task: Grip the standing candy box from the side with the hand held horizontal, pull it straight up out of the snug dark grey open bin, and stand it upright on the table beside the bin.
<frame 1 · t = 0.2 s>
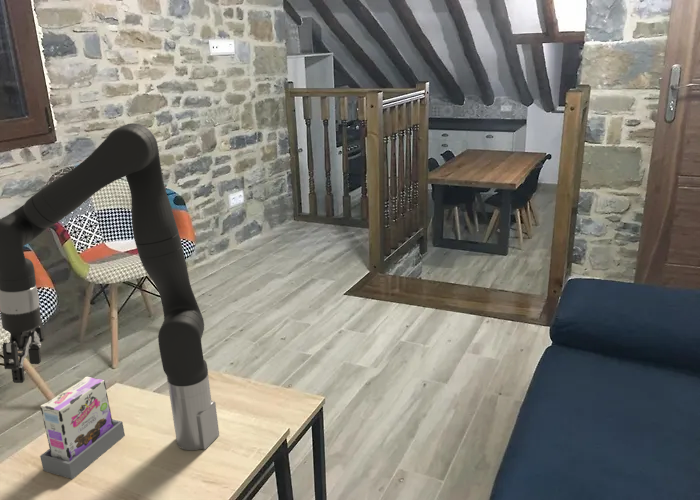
hand: (27, 372, 134), 22 cm above the table, tool pointing down, fingers open, 8 cm apart
candy box: (86, 453, 140), resting in bin
bin: (85, 452, 140), on the table
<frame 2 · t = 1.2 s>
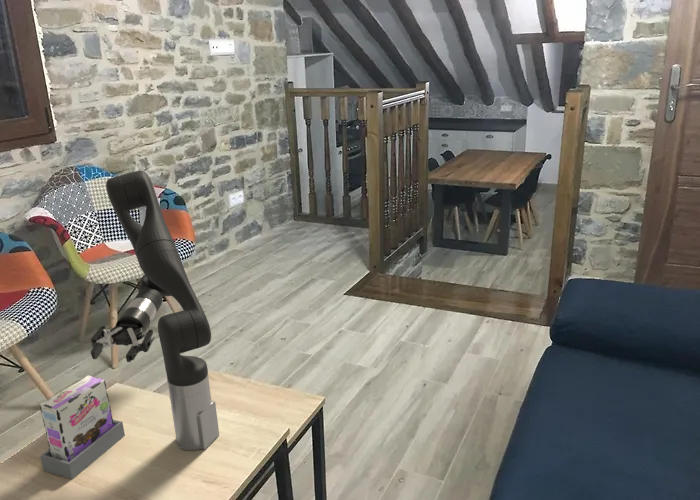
hand: (110, 358, 143), 19 cm above the table, tool horizontal, fingers open, 8 cm apart
nothing on the table moved.
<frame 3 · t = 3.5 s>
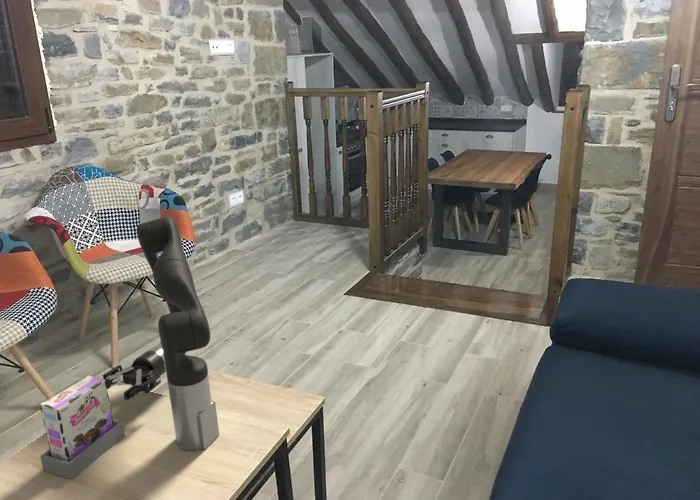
hand: (111, 393, 147), 10 cm above the table, tool horizontal, fingers open, 8 cm apart
nothing on the table moved.
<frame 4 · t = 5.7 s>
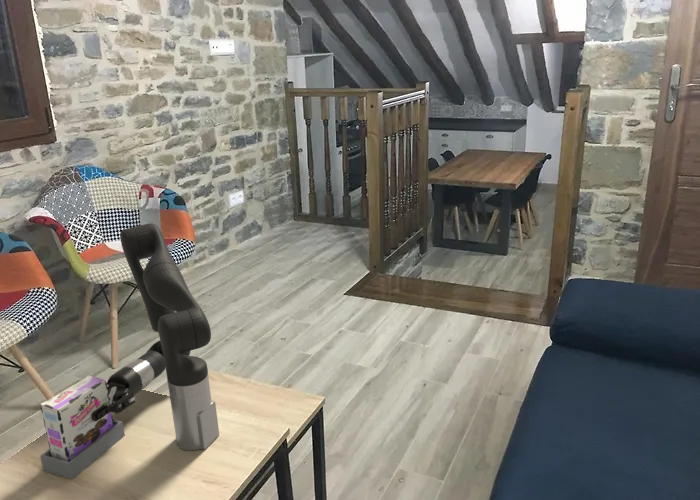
hand: (82, 415, 138), 10 cm above the table, tool horizontal, fingers closed on candy box, 6 cm apart
candy box: (86, 452, 141), resting in bin, touching gripper
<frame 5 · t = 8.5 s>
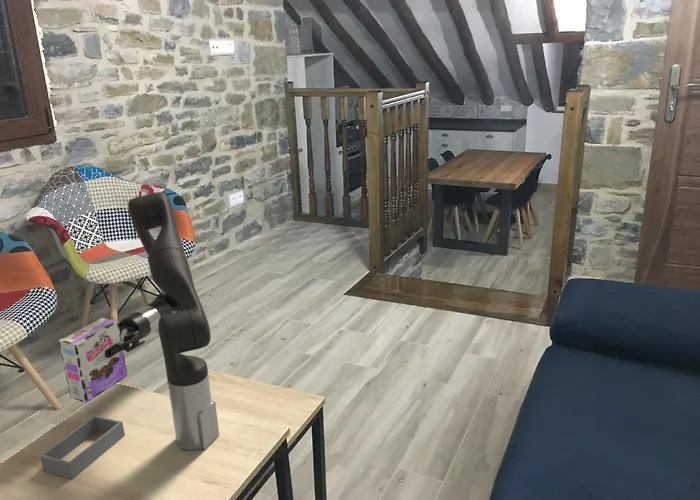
hand: (96, 352, 150), 18 cm above the table, tool horizontal, fingers closed on candy box, 6 cm apart
candy box: (100, 387, 153), point 8 cm above the table, touching gripper
when the fingers open (11 cm above the table, at t = 11.0 s): candy box drops 1 cm, on the table.
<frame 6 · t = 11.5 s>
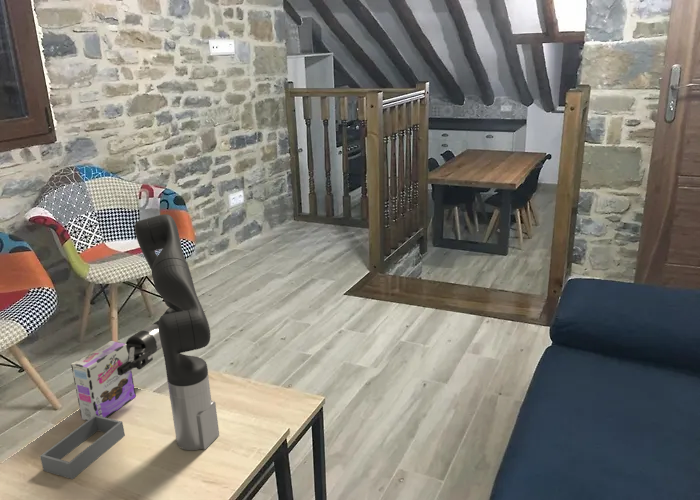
hand: (105, 369, 155), 11 cm above the table, tool horizontal, fingers open, 8 cm apart
candy box: (110, 408, 158), on the table
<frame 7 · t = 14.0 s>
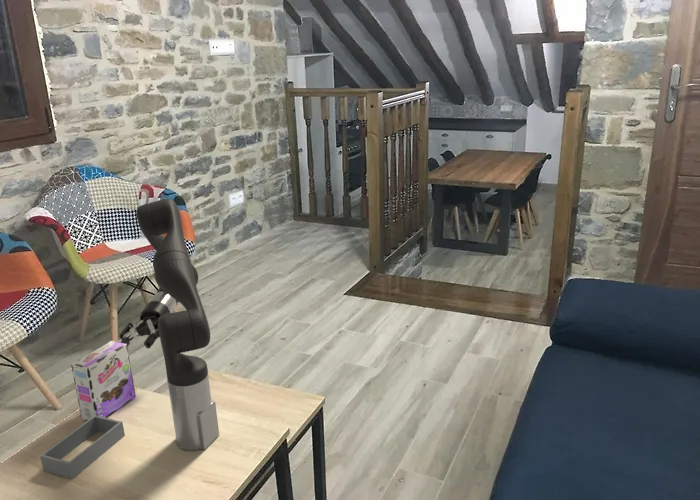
hand: (133, 347, 163), 13 cm above the table, tool tilted 75°, fingers open, 8 cm apart
nothing on the table moved.
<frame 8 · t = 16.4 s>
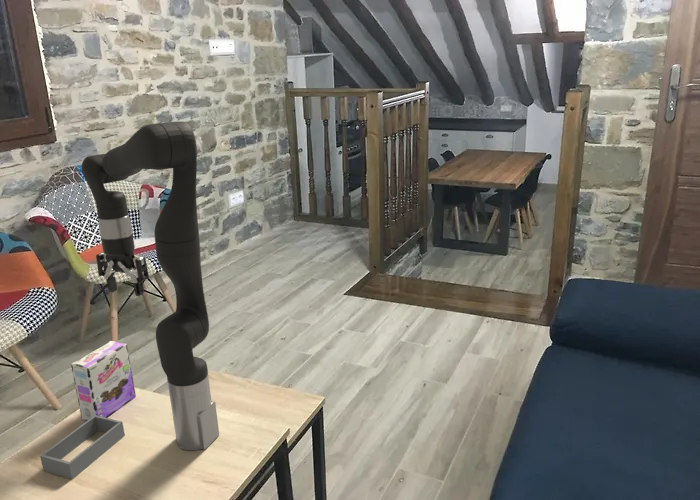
hand: (126, 293, 154), 30 cm above the table, tool pointing down, fingers open, 8 cm apart
nothing on the table moved.
at the end: candy box inside the target area (0.6 cm from its centre), on the table; candy box tilted 0°; the gripper is holding nothing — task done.
